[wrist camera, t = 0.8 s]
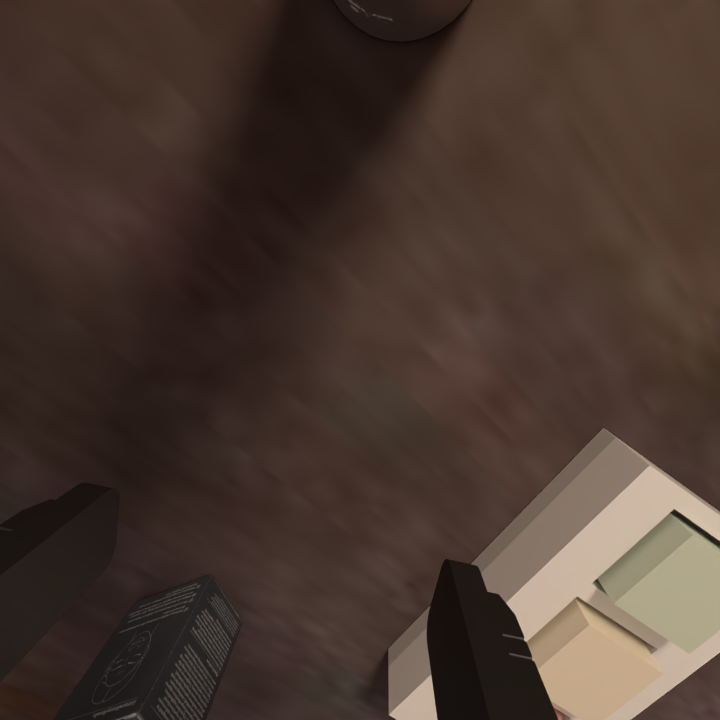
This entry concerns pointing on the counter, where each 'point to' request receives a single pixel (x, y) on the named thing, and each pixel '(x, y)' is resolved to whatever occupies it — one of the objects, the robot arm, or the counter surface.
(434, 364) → the counter surface
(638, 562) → the sage key
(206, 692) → the box
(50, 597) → the robot arm
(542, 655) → the sand key
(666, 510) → the keypad
